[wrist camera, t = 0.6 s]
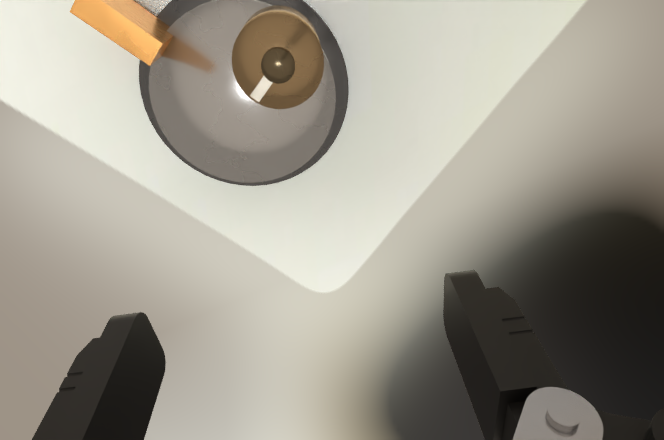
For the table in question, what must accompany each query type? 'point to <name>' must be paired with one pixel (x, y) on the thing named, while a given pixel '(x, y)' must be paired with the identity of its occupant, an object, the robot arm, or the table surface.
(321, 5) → the table surface
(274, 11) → the cover
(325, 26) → the base plate
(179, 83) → the silver disc with handle
